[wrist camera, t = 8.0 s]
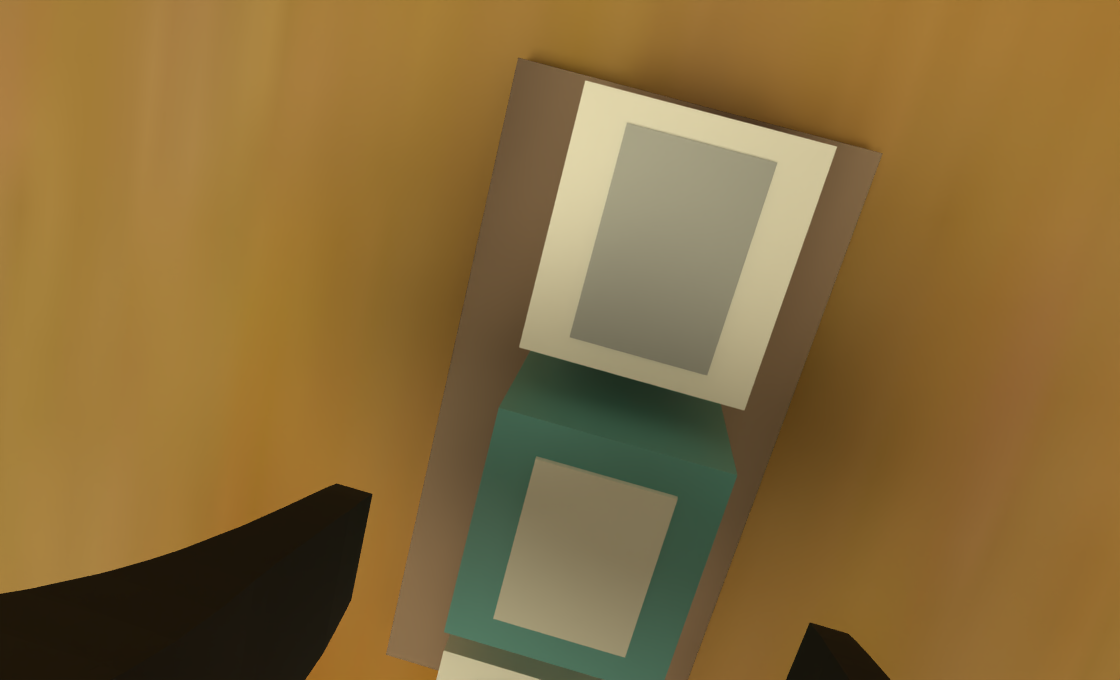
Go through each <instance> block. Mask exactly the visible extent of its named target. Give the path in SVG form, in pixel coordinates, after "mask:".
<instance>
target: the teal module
mask: <svg viewBox="0 0 1120 680" xmlns="http://www.w3.org/2000/svg"><path fill="white" fill-rule="evenodd" d="M736 478H737V471H736V467H735V463H734V459H733V454H732V450H731V446H730V442H729V437H728V433H727V429H726V425H725V420H724V416H723V412H722V408H721V404H719V403H716V402H712V401H708V400H705V399H701V398H698V397H694V396H691V395H687V394H684V393H680V392H676V391H673V390H669V389H666V388H662V387H659V386H655V385H651V384H648V383H644V382H641V381H637V380H634V379H630V378H627V377H623V376H619V375H616V374H612V373H609V372H605V371H602V370H598V369H594V368H591V367H587V366H584V365H580V364H577V363H573V362H570V361H566V360H562V359H559V358H555V357H552V356H548V355H545V354H541V353H537V352H534V351H530V352H529V354H528V356H527V358H526V359H525V361H524V363H523V365H522V367H521V368H520V370H519V372H518V374H517V376H516V377H515V379H514V381H513V383H512V385H511V386H510V388H509V390H508V392H507V394H506V395H505V397H504V399H503V401H502V403H501V404H500V406H499V408H498V412H497V417H496V421H495V425H494V429H493V433H492V437H491V441H490V445H489V449H488V453H487V458H486V462H485V466H484V470H483V474H482V478H481V482H480V486H479V490H478V495H477V499H476V503H475V507H474V511H473V515H472V519H471V523H470V527H469V531H468V536H467V540H466V544H465V548H464V552H463V556H462V560H461V564H460V568H459V572H458V577H457V581H456V585H455V589H454V593H453V597H452V601H451V605H450V609H449V613H448V618H447V622H446V626H445V630H444V632H445V633H449V634H452V635H455V636H459V637H462V638H465V639H469V640H472V641H475V642H479V643H482V644H485V645H489V646H492V647H496V648H499V649H502V650H506V651H509V652H512V653H516V654H519V655H522V656H526V657H529V658H533V659H536V660H539V661H543V662H546V663H549V664H553V665H556V666H559V667H563V668H566V669H569V670H573V671H576V672H580V673H583V674H586V675H590V676H593V677H596V678H600V679H603V680H665V677H666V674H667V672H668V669H669V666H670V663H671V660H672V658H673V655H674V652H675V649H676V646H677V644H678V641H679V638H680V635H681V632H682V629H683V627H684V624H685V621H686V618H687V615H688V613H689V610H690V607H691V604H692V601H693V599H694V596H695V593H696V590H697V587H698V585H699V582H700V579H701V576H702V573H703V570H704V568H705V565H706V562H707V559H708V556H709V554H710V551H711V548H712V545H713V542H714V540H715V537H716V534H717V531H718V528H719V526H720V523H721V520H722V517H723V514H724V512H725V509H726V506H727V503H728V500H729V497H730V495H731V492H732V489H733V486H734V483H735V481H736Z"/></svg>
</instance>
